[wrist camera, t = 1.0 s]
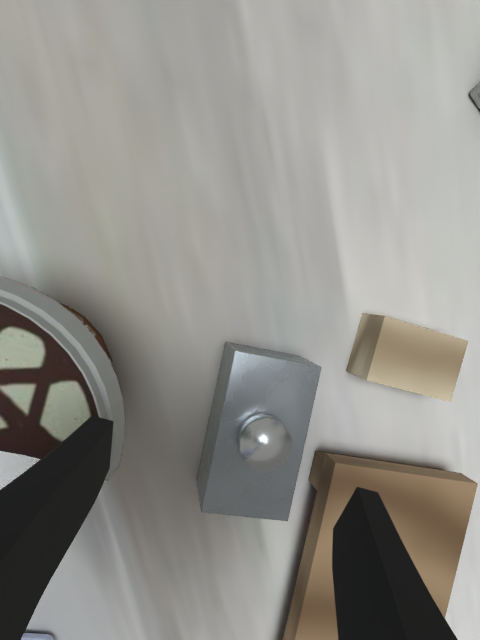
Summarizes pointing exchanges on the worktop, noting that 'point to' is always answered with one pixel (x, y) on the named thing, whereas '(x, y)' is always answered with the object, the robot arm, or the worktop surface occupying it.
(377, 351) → the beech offcut
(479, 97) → the coffee box
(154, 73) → the worktop surface
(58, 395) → the food container
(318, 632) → the stand
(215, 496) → the block
